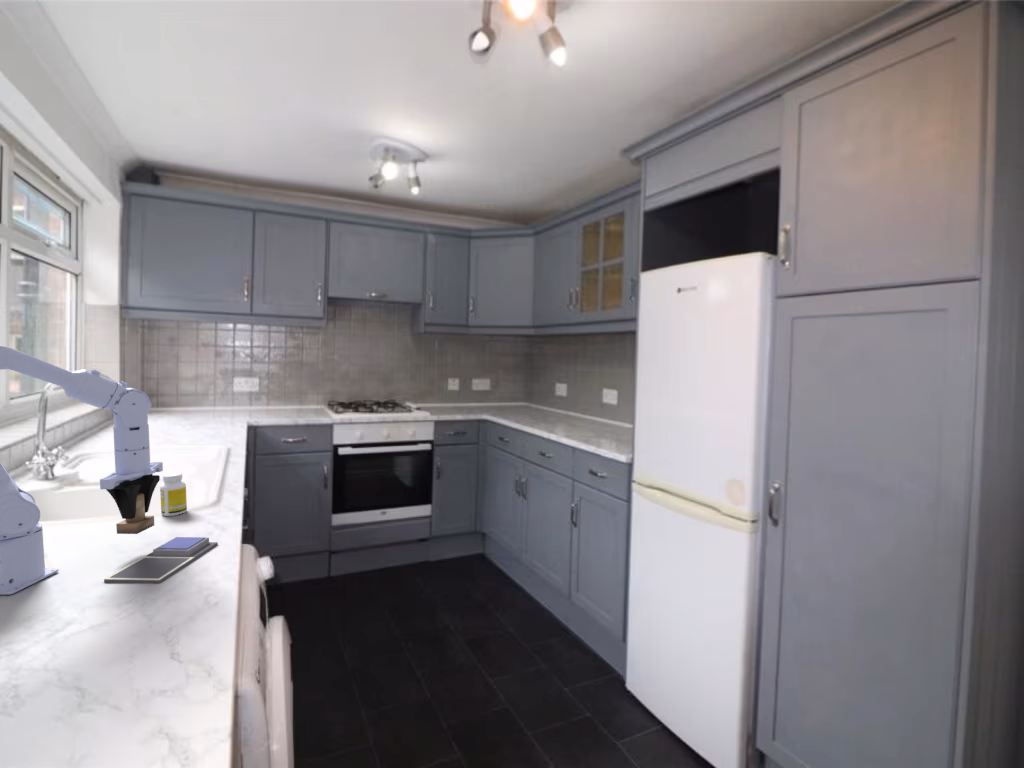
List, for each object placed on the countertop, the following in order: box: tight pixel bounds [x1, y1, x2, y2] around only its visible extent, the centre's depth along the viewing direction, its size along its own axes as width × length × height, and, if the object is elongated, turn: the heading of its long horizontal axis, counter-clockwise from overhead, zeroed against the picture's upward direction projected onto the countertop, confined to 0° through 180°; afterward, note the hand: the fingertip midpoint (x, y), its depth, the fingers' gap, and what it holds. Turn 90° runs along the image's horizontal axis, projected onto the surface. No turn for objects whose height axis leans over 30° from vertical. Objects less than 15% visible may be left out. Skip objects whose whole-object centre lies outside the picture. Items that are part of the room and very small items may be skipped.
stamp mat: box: [103, 536, 219, 584], centre depth 103 cm, size 18×10×2 cm, turn 179°
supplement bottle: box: [159, 472, 188, 517], centre depth 132 cm, size 5×5×10 cm
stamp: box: [116, 493, 155, 535], centre depth 107 cm, size 5×4×7 cm
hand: (135, 515), depth 107 cm, fingers closed on stamp, 3 cm apart
